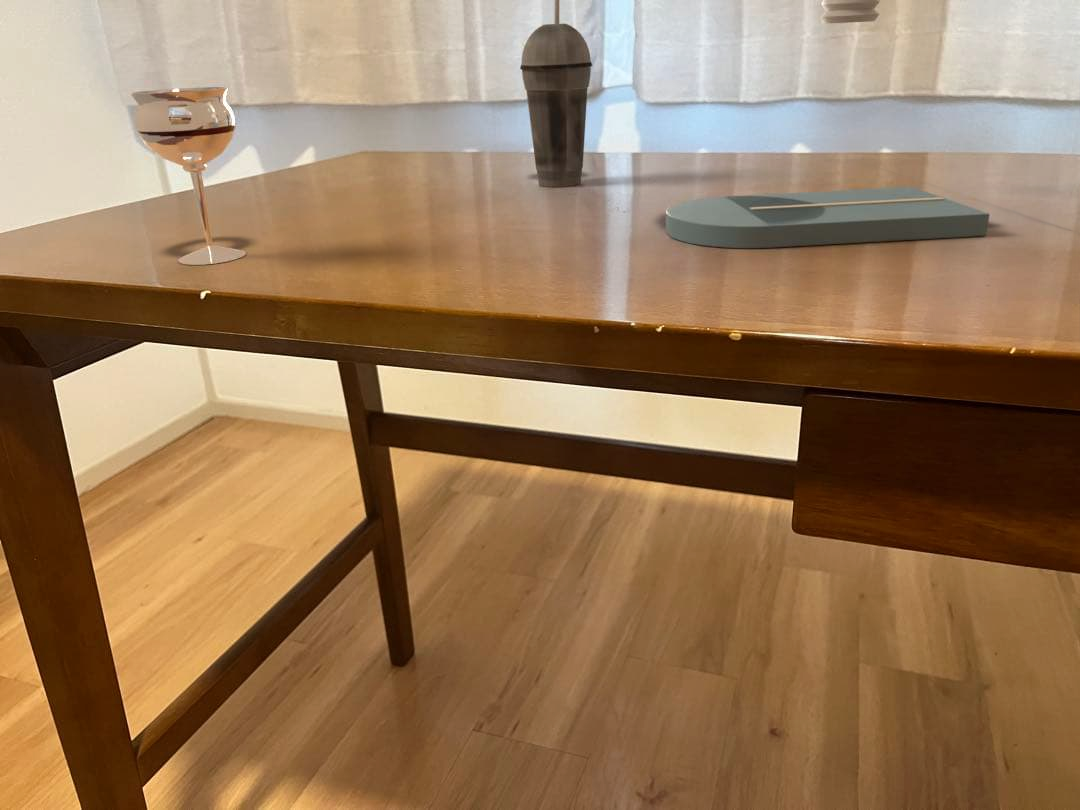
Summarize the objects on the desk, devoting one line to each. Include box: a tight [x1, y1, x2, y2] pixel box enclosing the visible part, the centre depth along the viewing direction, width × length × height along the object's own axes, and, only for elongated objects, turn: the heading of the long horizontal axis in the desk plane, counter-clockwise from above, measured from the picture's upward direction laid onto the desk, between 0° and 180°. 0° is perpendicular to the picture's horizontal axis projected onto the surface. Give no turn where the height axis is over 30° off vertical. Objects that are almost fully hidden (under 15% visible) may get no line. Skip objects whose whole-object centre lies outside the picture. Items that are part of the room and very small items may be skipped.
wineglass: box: [128, 86, 247, 266], centre depth 63 cm, size 7×7×12 cm
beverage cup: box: [519, 0, 593, 188], centre depth 87 cm, size 7×7×20 cm
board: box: [665, 186, 990, 249], centre depth 66 cm, size 22×12×2 cm, turn 94°
